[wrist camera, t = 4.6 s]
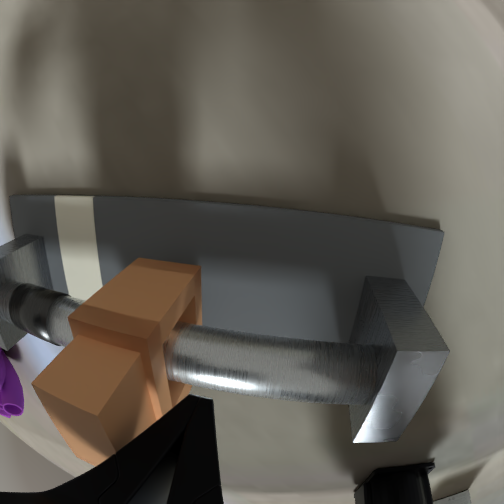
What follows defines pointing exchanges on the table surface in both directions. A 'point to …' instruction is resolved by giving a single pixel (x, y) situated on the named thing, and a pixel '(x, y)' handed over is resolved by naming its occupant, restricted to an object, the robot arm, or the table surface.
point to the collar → (120, 358)
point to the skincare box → (456, 499)
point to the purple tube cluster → (9, 389)
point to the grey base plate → (233, 256)
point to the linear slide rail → (263, 348)
